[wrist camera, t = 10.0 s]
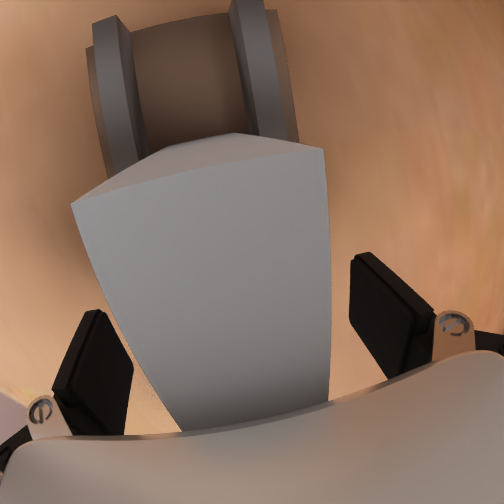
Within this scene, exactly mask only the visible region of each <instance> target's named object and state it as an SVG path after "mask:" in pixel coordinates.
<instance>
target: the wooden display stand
mask: <svg viewBox="0 0 504 504" xmlns="http://www.w3.org/2000/svg"><path fill="white" fill-rule="evenodd" d="M92 30H93V43H94V45H93V46H91V47H88V48H86V56H87V65H88V74H89V82H90V89H91V96H92V102H93V109H94V114H95V120H96V125H97V131H98V136H99V140H100V145H101V150H102V154H103V159H104V163H105V167H106V171H107V175H108V179H110V178H111V177H113V176H115V175H116V174H118V173H120V172H121V171H123V170H125V169H127V168H128V167H130V166H132V165H134V164H135V163H137V162H139V161H141V160H143V159H144V158H146V157H148V156H150V155H152V154H154V153H156V152H158V151H160V150H161V149H163V148H165V147H167V146H171V145H175V144H180V143H184V142H188V141H193V140H198V139H203V138H207V137H213V136H218V135H223V134H229V133H241V134H248V135H254V136H261V137H267V138H273V139H278V140H284V141H289V142H295V143H299V138H298V130H297V123H296V116H295V109H294V103H293V96H292V90H291V83H290V77H289V71H288V66H287V60H286V54H285V49H284V44H283V39H282V33H281V28H280V23H279V19H278V14H277V10H265V8H264V3H263V0H232V1H231V5H230V8H229V12H228V13H220V14H213V15H206V16H199V17H194V18H188V19H183V20H178V21H173V22H169V23H164V24H160V25H156V26H152V27H148V28H145V29H141V30H138V31H134V32H131V33H130V32H129V30H128V29H127V28H126V27H125V25H124V24H123V23H122V22H121V20H120V19H119V18H118V17H117V16H116V15H115V16H112V17H109V18H106V19H103V20H101V21H98V22H95V23H93V24H92Z"/></svg>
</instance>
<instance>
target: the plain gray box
mask: <svg viewBox="0 0 504 504" xmlns="http://www.w3.org/2000/svg"><path fill="white" fill-rule="evenodd" d="M70 205H71V208H72V211H73V214H74V217H75V221H76V224H77V227H78V230H79V232H80V235H81V238H82V241H83V244H84V247H85V249H86V252H87V255H88V257H89V260H90V262H91V265H92V267H93V270H94V272H95V275H96V277H97V280H98V282H99V284H100V287H101V289H102V291H103V294H104V296H105V298H106V300H107V302H108V305H109V307H110V309H111V311H112V313H113V315H114V317H115V319H116V321H117V323H118V325H119V327H120V329H121V331H122V333H123V335H124V337H125V339H126V341H127V343H128V345H129V347H130V349H131V350H132V352H133V354H134V356H135V358H136V359H137V361H138V363H139V365H140V367H141V368H142V370H143V372H144V373H145V375H146V377H147V378H148V380H149V382H150V383H151V385H152V387H153V388H154V390H155V392H156V393H157V395H158V396H159V398H160V399H161V401H162V402H163V404H164V406H165V407H166V409H167V410H168V412H169V413H170V415H171V416H172V417H173V419H174V420H175V422H176V423H177V425H178V426H179V427H180V429H181V430H182V432H185V431H193V430H201V429H209V428H216V427H222V426H228V425H234V424H239V423H245V422H250V421H255V420H259V419H264V418H269V417H273V416H277V415H281V414H285V413H289V412H293V411H297V410H301V409H304V408H308V407H311V406H315V405H318V404H321V403H325V402H328V394H329V378H330V356H331V249H330V227H329V209H328V195H327V182H326V171H325V160H324V150H323V148H319V147H314V146H309V145H305V144H300V143H295V142H289V141H284V140H278V139H273V138H267V137H261V136H254V135H248V134H241V133H229V134H223V135H218V136H213V137H207V138H203V139H198V140H193V141H188V142H184V143H180V144H175V145H171V146H167V147H165V148H163V149H161V150H160V151H158V152H156V153H154V154H152V155H150V156H148V157H146V158H144V159H143V160H141V161H139V162H137V163H135V164H134V165H132V166H130V167H128V168H127V169H125V170H123V171H121V172H120V173H118V174H116V175H115V176H113V177H111V178H110V179H108V180H106V181H105V182H103V183H102V184H100V185H98V186H97V187H95V188H94V189H92V190H91V191H89V192H87V193H86V194H84V195H83V196H81V197H80V198H78V199H77V200H75V201H74V202H72V203H71V204H70Z"/></svg>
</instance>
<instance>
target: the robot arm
mask: <svg viewBox="0 0 504 504" xmlns="http://www.w3.org/2000/svg"><path fill="white" fill-rule="evenodd" d="M433 311H434V309H433V308H432V307H431V306H430V305H429V304H428V303H427V302H426V301H425V300H424V299H422V298H421V297H420V296H419V295H418V294H417V293H416V292H415V291H414V290H413V289H412V288H411V287H409V286H408V285H407V284H406V283H405V282H404V281H403V280H402V279H401V278H400V277H398V276H397V275H396V274H395V273H394V272H393V271H392V270H391V269H389V268H388V267H387V266H386V265H385V264H384V263H383V262H381V261H380V260H379V259H378V258H377V257H376V256H374V255H373V254H372V253H371V252H365V253H361V254H357V255H355V257H354V259H353V260H351V264H350V301H349V320H350V323H351V325H352V327H353V328H354V329H355V331H356V332H357V334H358V335H359V337H360V338H361V340H362V341H363V343H364V344H365V346H366V347H367V349H368V350H369V352H370V353H371V354H372V356H373V357H374V359H375V360H376V362H377V363H378V365H379V366H380V368H381V370H382V371H383V373H384V374H385V376H386V377H387V379H388V380H387V381H384V382H382V383H379V384H376V385H374V386H371V387H368V388H366V389H363V390H360V391H358V392H355V393H352V394H349V395H346V396H343V397H340V398H337V399H334V400H331V401H328V402H325V403H321V404H318V405H315V406H311V407H308V408H304V409H301V410H297V411H293V412H289V413H285V414H281V415H277V416H273V417H269V418H264V419H259V420H255V421H250V422H245V423H239V424H234V425H228V426H222V427H216V428H209V429H201V430H193V431H185V432H175V433H163V434H148V435H124V429H125V422H126V414H127V408H128V401H129V395H130V389H131V383H132V377H133V372H134V367H133V363H132V361H131V359H130V357H129V356H128V354H127V352H126V350H125V348H124V347H123V345H122V343H121V341H120V339H119V337H118V335H117V333H116V331H115V330H114V328H113V326H112V324H111V322H110V320H109V318H108V316H107V314H106V313H105V312H102V311H101V310H100V309H96V310H91V311H86V312H85V314H84V316H83V318H82V320H81V322H80V324H79V326H78V328H77V330H76V332H75V335H74V337H73V339H72V341H71V343H70V346H69V348H68V350H67V352H66V355H65V357H64V359H63V362H62V364H61V366H60V369H59V371H58V374H57V376H56V379H55V381H54V384H53V386H52V389H51V390H52V391H53V392H54V396H53V397H51V396H48V395H44V396H40V397H38V398H36V399H35V400H34V401H32V402H31V404H30V405H29V406H28V409H27V411H26V421H27V425H26V426H25V427H24V428H22V429H21V430H20V431H18V432H17V433H16V434H14V435H13V436H12V437H10V438H9V439H8V440H6V441H5V442H4V443H2V445H0V504H504V335H500V334H494V333H488V332H483V331H477V330H474V326H473V322H472V321H471V319H470V318H469V317H468V316H466V315H465V314H463V313H461V312H458V311H450V310H448V311H444V312H442V313H440V314H439V315H438V316H437V315H436V314H435V313H434V312H433Z"/></svg>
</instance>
